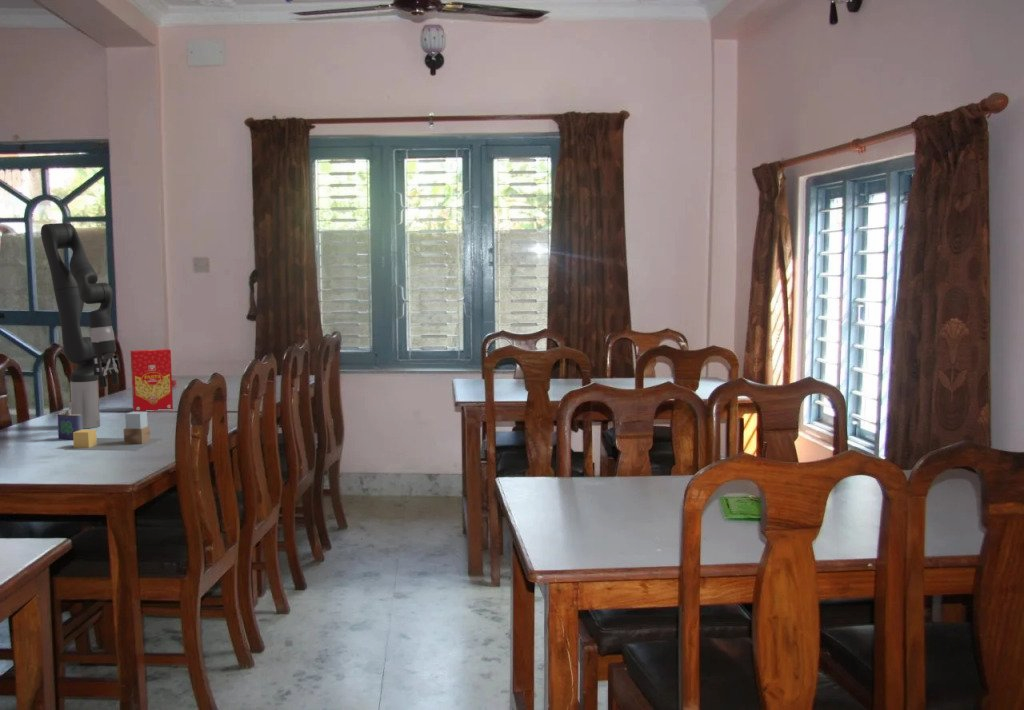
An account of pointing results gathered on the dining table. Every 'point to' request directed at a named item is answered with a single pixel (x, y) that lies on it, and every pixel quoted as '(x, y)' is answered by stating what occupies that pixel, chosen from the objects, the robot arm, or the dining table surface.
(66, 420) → the flask
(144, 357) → the food packaging
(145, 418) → the tower mid
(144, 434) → the tower base
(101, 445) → the slate mat
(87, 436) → the ochre block
